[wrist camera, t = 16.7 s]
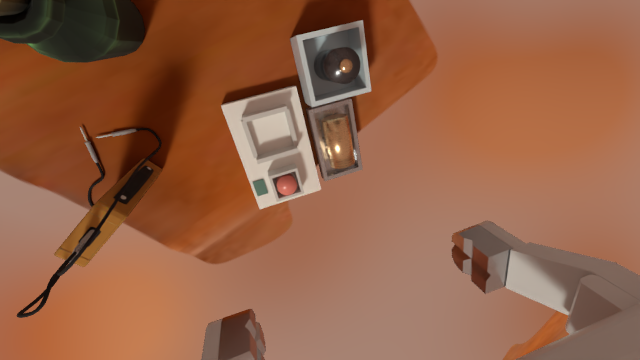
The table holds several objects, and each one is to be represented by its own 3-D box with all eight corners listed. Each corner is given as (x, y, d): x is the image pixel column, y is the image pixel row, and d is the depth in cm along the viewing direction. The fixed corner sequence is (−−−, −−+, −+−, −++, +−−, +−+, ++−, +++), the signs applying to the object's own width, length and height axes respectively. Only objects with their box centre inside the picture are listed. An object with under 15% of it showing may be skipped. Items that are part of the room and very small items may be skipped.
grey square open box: (290, 38, 34) (296, 35, 30) (349, 24, 35) (362, 20, 31) (305, 102, 38) (312, 107, 34) (358, 88, 39) (371, 91, 35)
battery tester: (221, 104, 35) (219, 108, 32) (294, 85, 36) (298, 87, 33) (259, 204, 42) (260, 215, 39) (318, 185, 44) (324, 195, 40)
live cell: (317, 118, 39) (324, 124, 35) (342, 112, 39) (351, 116, 36) (328, 165, 42) (335, 174, 39) (350, 159, 42) (359, 167, 39)
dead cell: (311, 53, 35) (326, 51, 28) (338, 46, 35) (359, 43, 29) (317, 83, 37) (333, 88, 30) (342, 76, 37) (364, 79, 30)
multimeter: (104, 96, 32) (-75, 138, 14) (181, 148, 36) (120, 231, 18) (35, 184, 33) (-200, 322, 16) (117, 224, 38) (6, 366, 20)
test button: (273, 175, 39) (275, 180, 37) (292, 170, 39) (294, 174, 37) (279, 192, 40) (280, 197, 38) (296, 186, 40) (299, 191, 39)
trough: (305, 108, 38) (308, 110, 37) (347, 97, 39) (351, 98, 37) (321, 176, 43) (324, 181, 41) (358, 165, 44) (362, 169, 42)
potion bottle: (92, 69, 30) (-78, 77, 14) (47, -17, 27) (-245, -134, 11) (166, 55, 32) (85, 47, 16) (132, -29, 28) (-17, -151, 12)
